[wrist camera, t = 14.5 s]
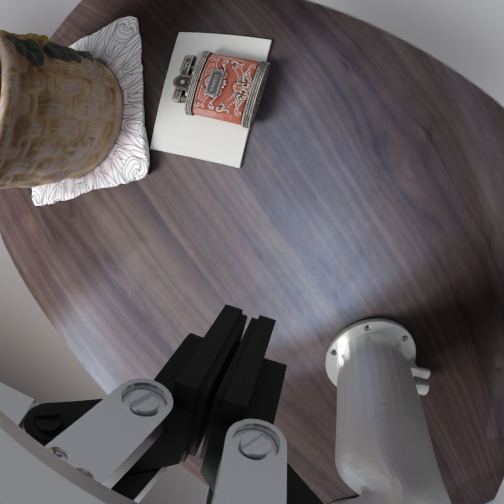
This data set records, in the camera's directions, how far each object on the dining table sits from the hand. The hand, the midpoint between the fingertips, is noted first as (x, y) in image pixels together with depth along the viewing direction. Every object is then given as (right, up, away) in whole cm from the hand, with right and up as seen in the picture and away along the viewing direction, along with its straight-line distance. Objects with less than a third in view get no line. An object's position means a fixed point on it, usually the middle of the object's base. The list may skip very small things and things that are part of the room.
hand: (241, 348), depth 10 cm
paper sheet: (-5, +22, +23) cm, 32 cm away
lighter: (+1, +20, +21) cm, 29 cm away
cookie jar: (-25, +24, +28) cm, 44 cm away
